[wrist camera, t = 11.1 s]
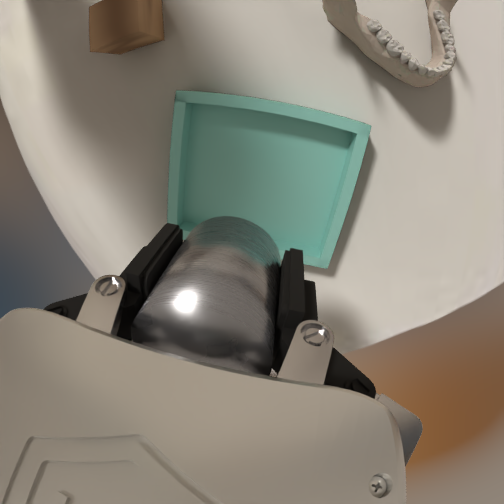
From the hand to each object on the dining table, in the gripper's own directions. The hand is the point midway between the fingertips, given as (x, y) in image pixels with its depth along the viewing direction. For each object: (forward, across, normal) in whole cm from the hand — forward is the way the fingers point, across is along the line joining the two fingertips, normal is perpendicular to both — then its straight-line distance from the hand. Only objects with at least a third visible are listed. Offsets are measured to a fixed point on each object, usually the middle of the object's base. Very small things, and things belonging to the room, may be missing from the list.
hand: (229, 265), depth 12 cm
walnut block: (+15, +14, -14) cm, 25 cm away
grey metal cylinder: (0, 0, 0) cm, 0 cm away
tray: (+15, 0, 0) cm, 15 cm away
